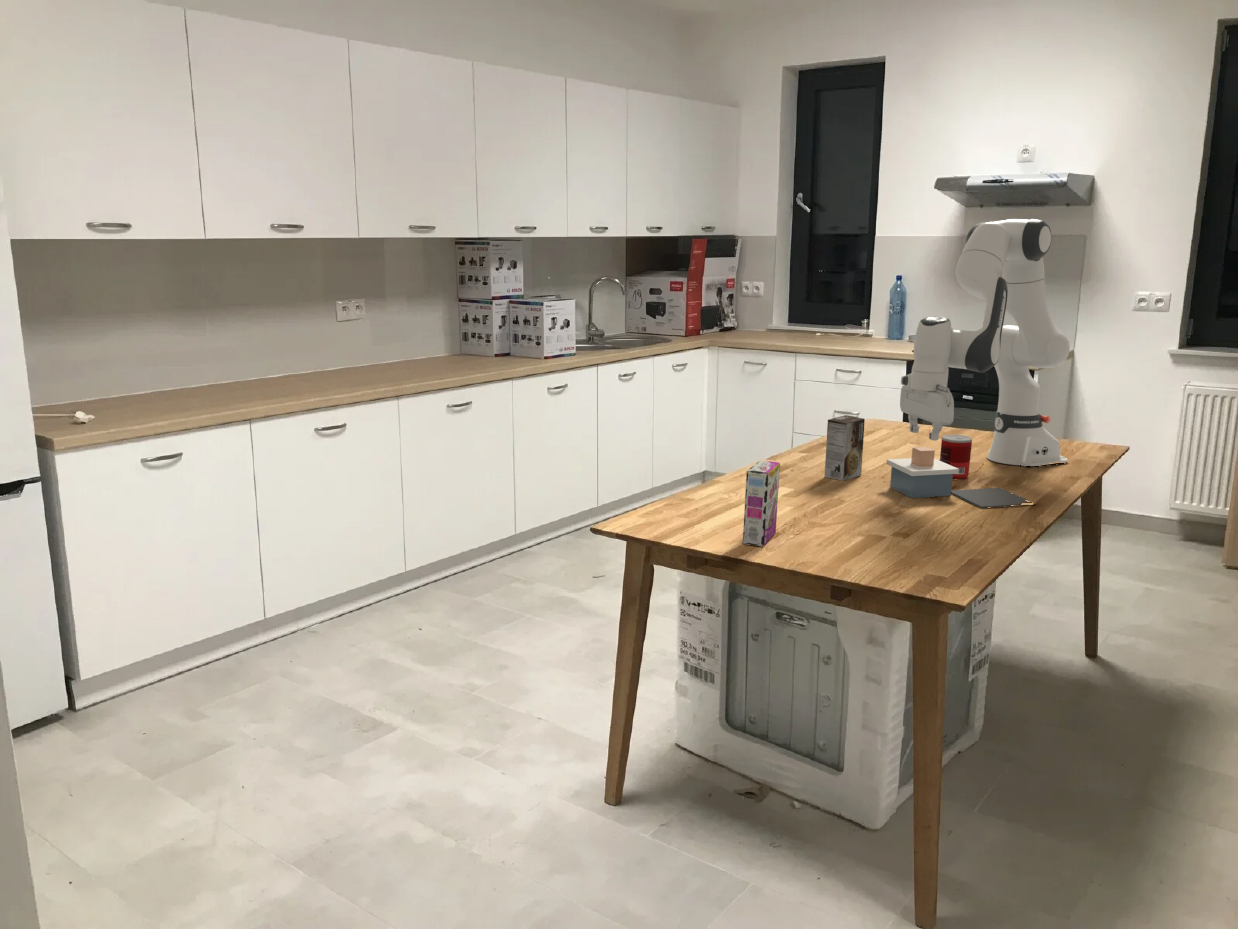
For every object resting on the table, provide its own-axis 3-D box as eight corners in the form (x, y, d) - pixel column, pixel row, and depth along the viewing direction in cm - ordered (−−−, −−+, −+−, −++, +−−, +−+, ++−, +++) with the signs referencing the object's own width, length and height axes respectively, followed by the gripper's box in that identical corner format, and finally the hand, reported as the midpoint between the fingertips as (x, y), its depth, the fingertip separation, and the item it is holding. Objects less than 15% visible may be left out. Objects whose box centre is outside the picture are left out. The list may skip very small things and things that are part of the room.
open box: (927, 484, 256) (929, 462, 254) (950, 495, 245) (952, 472, 244) (890, 486, 253) (891, 464, 252) (911, 498, 243) (913, 474, 241)
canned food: (973, 476, 265) (976, 437, 262) (960, 481, 259) (964, 441, 256) (946, 471, 270) (950, 433, 267) (933, 476, 264) (937, 437, 261)
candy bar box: (764, 548, 204) (768, 473, 200) (742, 545, 206) (745, 470, 202) (777, 533, 214) (781, 461, 210) (755, 530, 216) (758, 459, 212)
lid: (931, 461, 255) (932, 442, 254) (958, 473, 243) (960, 453, 242) (886, 463, 252) (887, 444, 251) (911, 476, 240) (913, 455, 239)
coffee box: (841, 471, 269) (845, 414, 265) (861, 475, 264) (866, 418, 260) (823, 477, 262) (826, 418, 259) (843, 481, 258) (847, 422, 254)
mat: (999, 489, 252) (999, 487, 251) (1035, 505, 237) (1036, 503, 237) (947, 492, 248) (947, 490, 248) (981, 508, 234) (981, 506, 234)
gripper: (963, 388, 233) (957, 444, 236) (919, 376, 253) (914, 428, 256) (939, 388, 232) (934, 445, 235) (897, 376, 251) (892, 428, 254)
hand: (923, 436), depth 246 cm, fingers open, 8 cm apart
